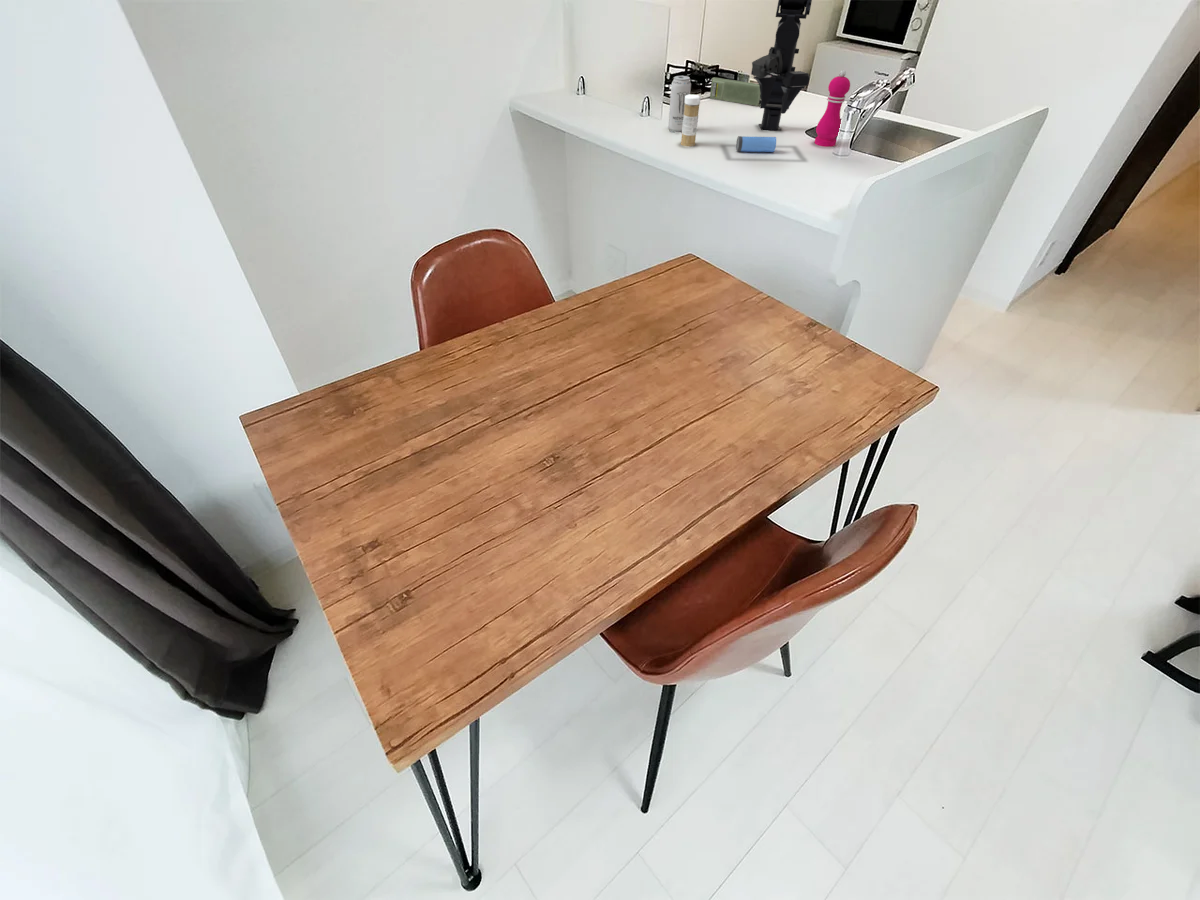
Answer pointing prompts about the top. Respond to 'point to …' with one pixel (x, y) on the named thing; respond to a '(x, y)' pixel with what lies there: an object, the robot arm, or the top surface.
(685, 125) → the sprinkles bottle
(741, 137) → the tube
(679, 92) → the energy drink can
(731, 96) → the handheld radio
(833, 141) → the pepper mill
